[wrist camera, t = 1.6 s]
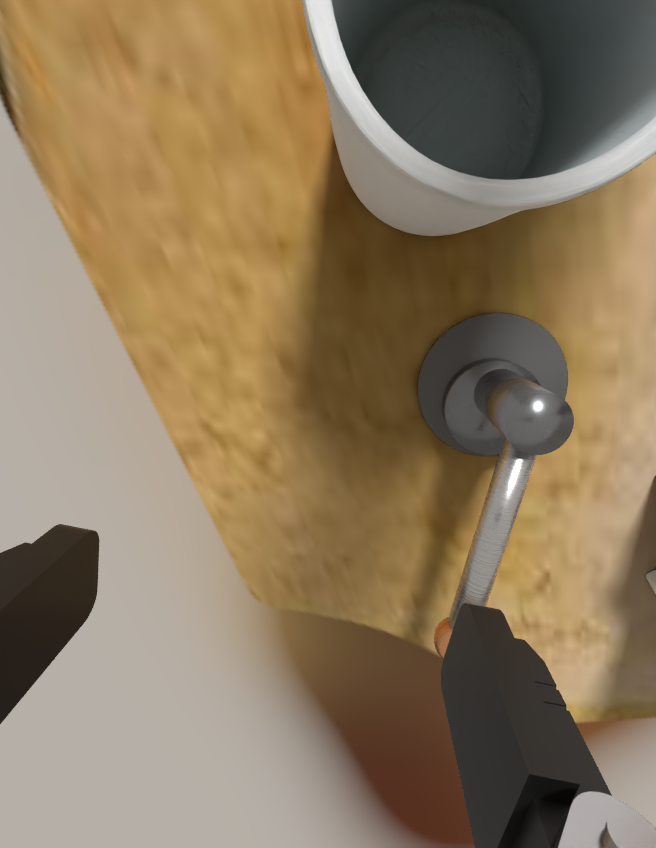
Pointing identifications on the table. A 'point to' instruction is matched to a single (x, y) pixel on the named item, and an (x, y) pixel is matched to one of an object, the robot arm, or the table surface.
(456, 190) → the utensil holder
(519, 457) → the metal lever
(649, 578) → the supplement box
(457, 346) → the base plate
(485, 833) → the robot arm
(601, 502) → the table surface
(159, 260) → the table surface
